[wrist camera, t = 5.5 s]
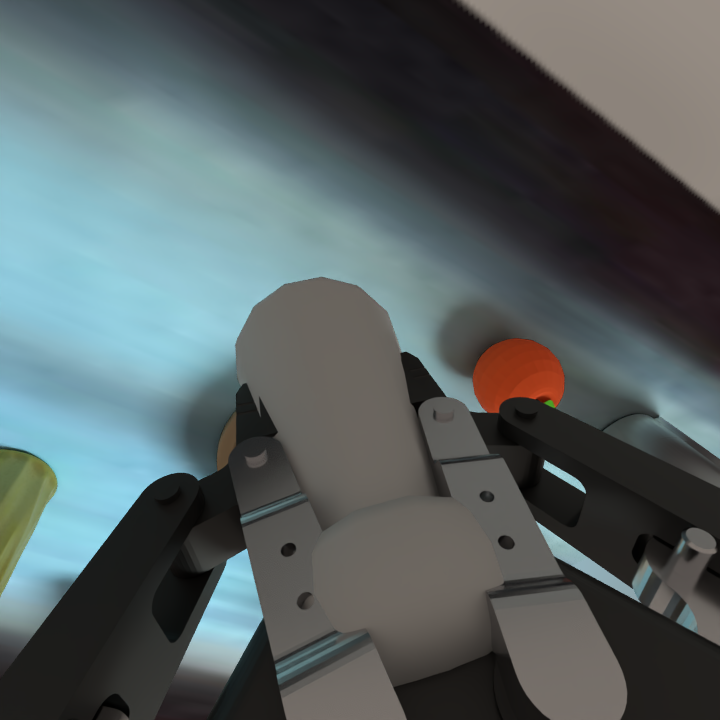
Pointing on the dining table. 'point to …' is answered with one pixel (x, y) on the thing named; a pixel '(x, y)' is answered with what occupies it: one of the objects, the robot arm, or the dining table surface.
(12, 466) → the vase
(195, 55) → the dining table surface
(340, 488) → the salt shaker
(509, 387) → the clementine
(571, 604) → the robot arm
